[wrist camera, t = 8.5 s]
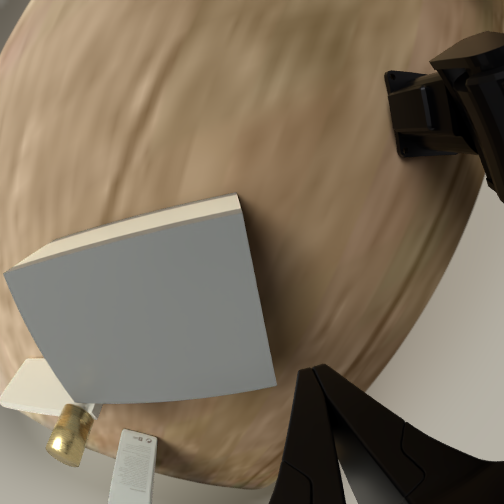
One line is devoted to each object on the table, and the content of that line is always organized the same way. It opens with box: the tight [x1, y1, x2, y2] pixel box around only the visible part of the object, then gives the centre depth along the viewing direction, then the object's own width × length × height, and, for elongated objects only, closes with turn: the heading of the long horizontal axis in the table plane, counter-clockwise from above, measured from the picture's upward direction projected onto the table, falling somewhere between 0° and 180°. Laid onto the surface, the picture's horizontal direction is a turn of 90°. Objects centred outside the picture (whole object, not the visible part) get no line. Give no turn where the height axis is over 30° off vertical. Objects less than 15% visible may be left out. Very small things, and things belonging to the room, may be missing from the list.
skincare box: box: [108, 429, 157, 504], centre depth 20 cm, size 6×4×12 cm
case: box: [3, 193, 277, 404], centre depth 16 cm, size 14×10×6 cm
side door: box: [0, 358, 103, 467], centre depth 16 cm, size 12×2×11 cm, turn 100°
